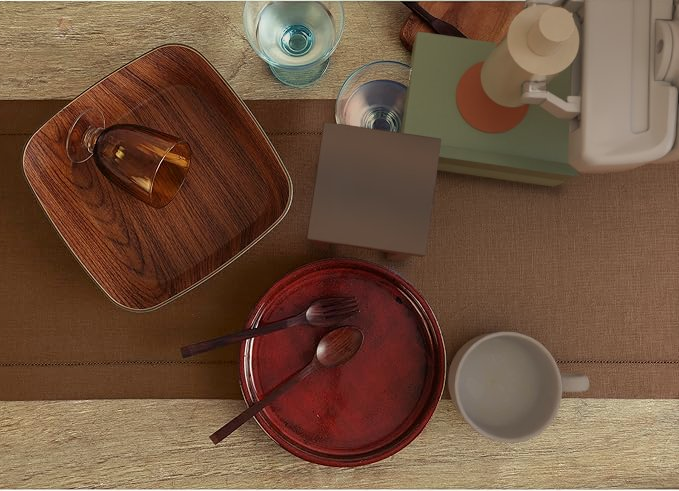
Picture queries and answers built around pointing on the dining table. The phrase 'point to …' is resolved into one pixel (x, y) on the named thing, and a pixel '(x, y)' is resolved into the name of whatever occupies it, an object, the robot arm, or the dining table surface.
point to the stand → (374, 190)
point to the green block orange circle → (482, 116)
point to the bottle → (530, 52)
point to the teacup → (509, 386)
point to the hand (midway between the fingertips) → (523, 50)
